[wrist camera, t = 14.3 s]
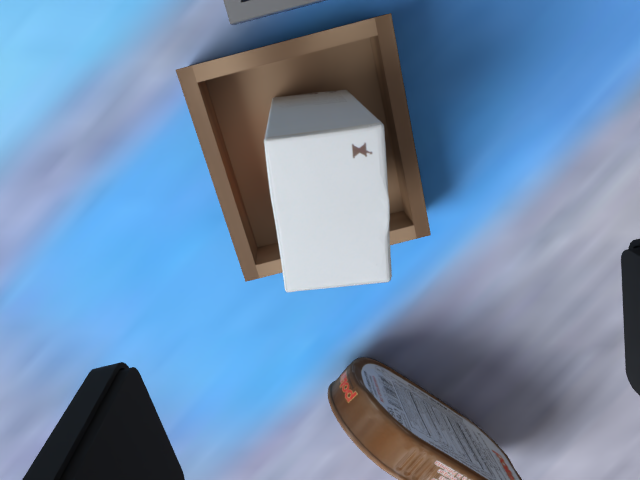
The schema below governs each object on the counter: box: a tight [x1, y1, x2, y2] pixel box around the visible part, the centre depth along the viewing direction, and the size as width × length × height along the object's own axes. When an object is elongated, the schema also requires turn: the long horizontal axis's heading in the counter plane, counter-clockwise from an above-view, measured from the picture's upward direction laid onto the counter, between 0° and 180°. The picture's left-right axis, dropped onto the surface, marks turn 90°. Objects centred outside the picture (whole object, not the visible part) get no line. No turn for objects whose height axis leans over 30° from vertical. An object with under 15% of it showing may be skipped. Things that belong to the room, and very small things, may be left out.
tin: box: [328, 357, 522, 480], centre depth 34 cm, size 15×3×8 cm, turn 52°
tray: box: [176, 13, 431, 281], centre depth 29 cm, size 11×12×4 cm
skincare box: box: [264, 90, 392, 292], centre depth 24 cm, size 6×4×12 cm
